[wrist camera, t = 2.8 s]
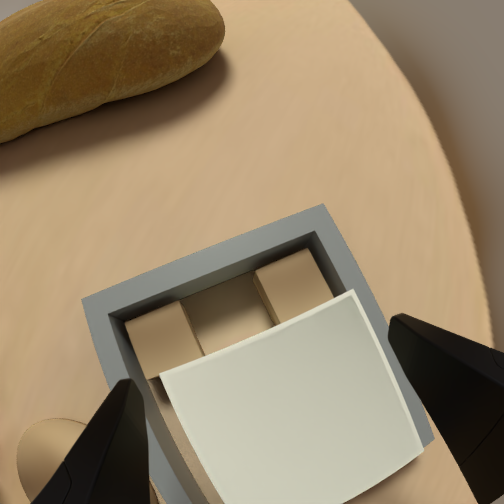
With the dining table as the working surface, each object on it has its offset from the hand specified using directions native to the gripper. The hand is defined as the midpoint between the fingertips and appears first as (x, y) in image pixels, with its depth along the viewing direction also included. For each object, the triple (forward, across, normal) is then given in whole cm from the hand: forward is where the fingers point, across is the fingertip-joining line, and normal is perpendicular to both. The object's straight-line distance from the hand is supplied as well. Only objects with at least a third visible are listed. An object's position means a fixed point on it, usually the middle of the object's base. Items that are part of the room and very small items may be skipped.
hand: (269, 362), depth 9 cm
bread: (+26, +14, -15) cm, 33 cm away
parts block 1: (+7, +4, +4) cm, 9 cm away
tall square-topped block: (+4, 0, +6) cm, 7 cm away
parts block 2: (+8, -3, +3) cm, 9 cm away
